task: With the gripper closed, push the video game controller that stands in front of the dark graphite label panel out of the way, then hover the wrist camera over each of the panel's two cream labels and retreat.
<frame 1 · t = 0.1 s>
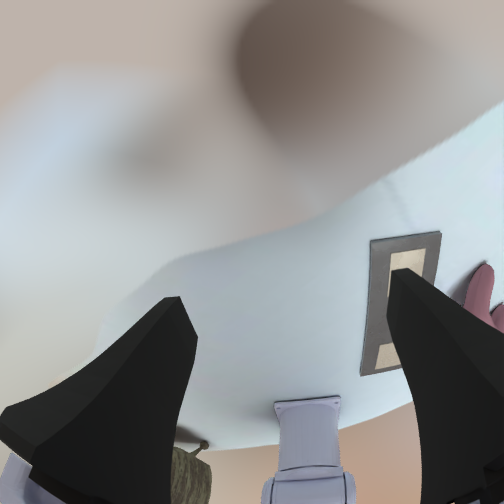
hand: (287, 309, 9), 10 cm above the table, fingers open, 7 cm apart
tabletop clock: (172, 433, 39), on the table
label panel: (397, 316, 21), on the table
video game controller: (476, 301, 20), on the table
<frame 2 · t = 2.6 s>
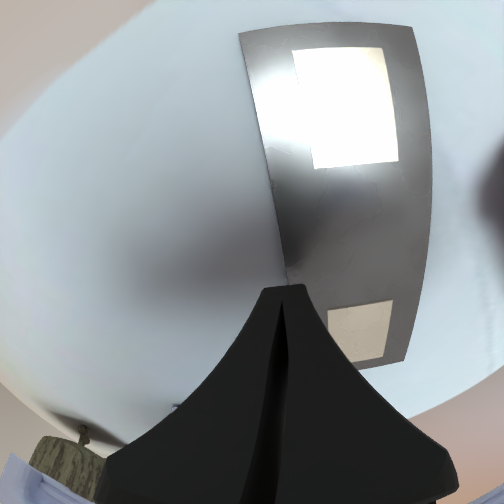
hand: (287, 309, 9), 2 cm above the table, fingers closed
tabletop clock: (94, 431, 28), on the table
label panel: (359, 238, 10), on the table
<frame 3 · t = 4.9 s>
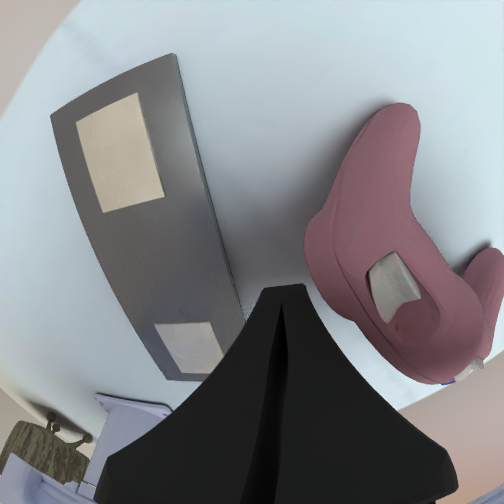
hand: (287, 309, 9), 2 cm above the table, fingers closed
tabletop clock: (61, 419, 29), on the table
label panel: (160, 265, 11), on the table
video game controller: (412, 230, 10), on the table, touching gripper
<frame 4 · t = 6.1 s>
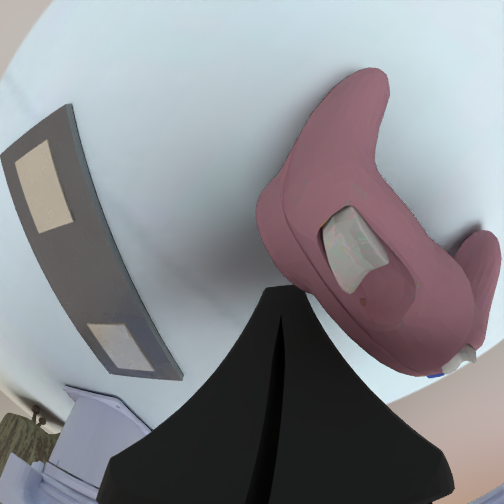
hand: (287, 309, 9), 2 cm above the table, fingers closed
tabletop clock: (45, 412, 30), on the table
label panel: (83, 275, 12), on the table
video game controller: (393, 208, 9), on the table, touching gripper
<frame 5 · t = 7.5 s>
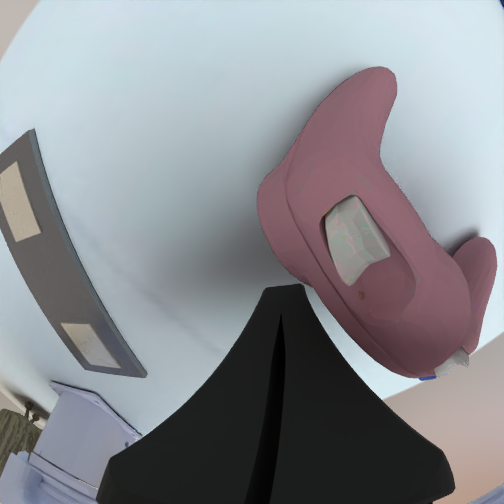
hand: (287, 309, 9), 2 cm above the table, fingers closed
tabletop clock: (38, 408, 31), on the table
label panel: (54, 279, 13), on the table
video game controller: (392, 208, 10), on the table, touching gripper
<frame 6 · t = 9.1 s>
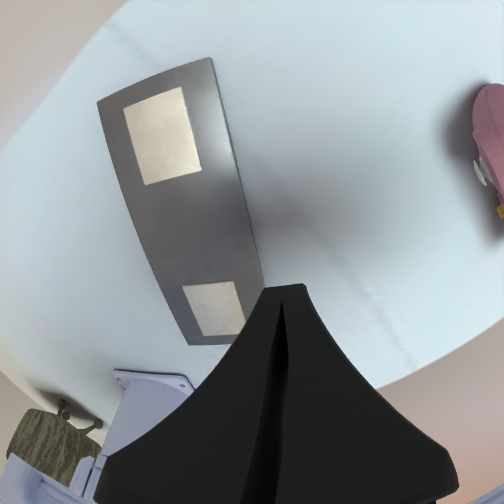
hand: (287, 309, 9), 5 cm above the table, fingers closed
tabletop clock: (72, 406, 32), on the table
label panel: (192, 230, 14), on the table
video game controller: (494, 172, 10), on the table
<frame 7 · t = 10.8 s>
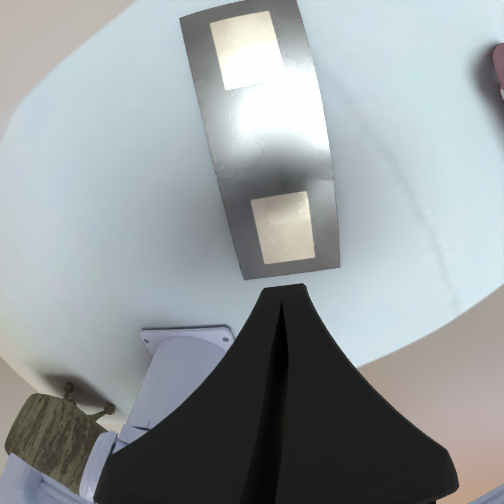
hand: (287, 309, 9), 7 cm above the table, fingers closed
tabletop clock: (79, 390, 31), on the table
label panel: (268, 139, 13), on the table
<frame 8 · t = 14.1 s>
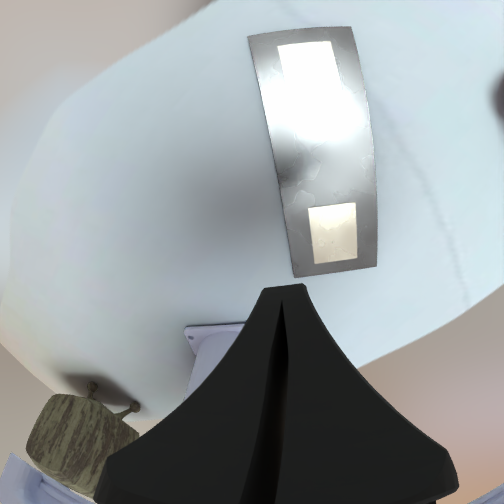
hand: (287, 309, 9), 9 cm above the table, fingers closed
tabletop clock: (103, 389, 33), on the table
label panel: (325, 155, 15), on the table
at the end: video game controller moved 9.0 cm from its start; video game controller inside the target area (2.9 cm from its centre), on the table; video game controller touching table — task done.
